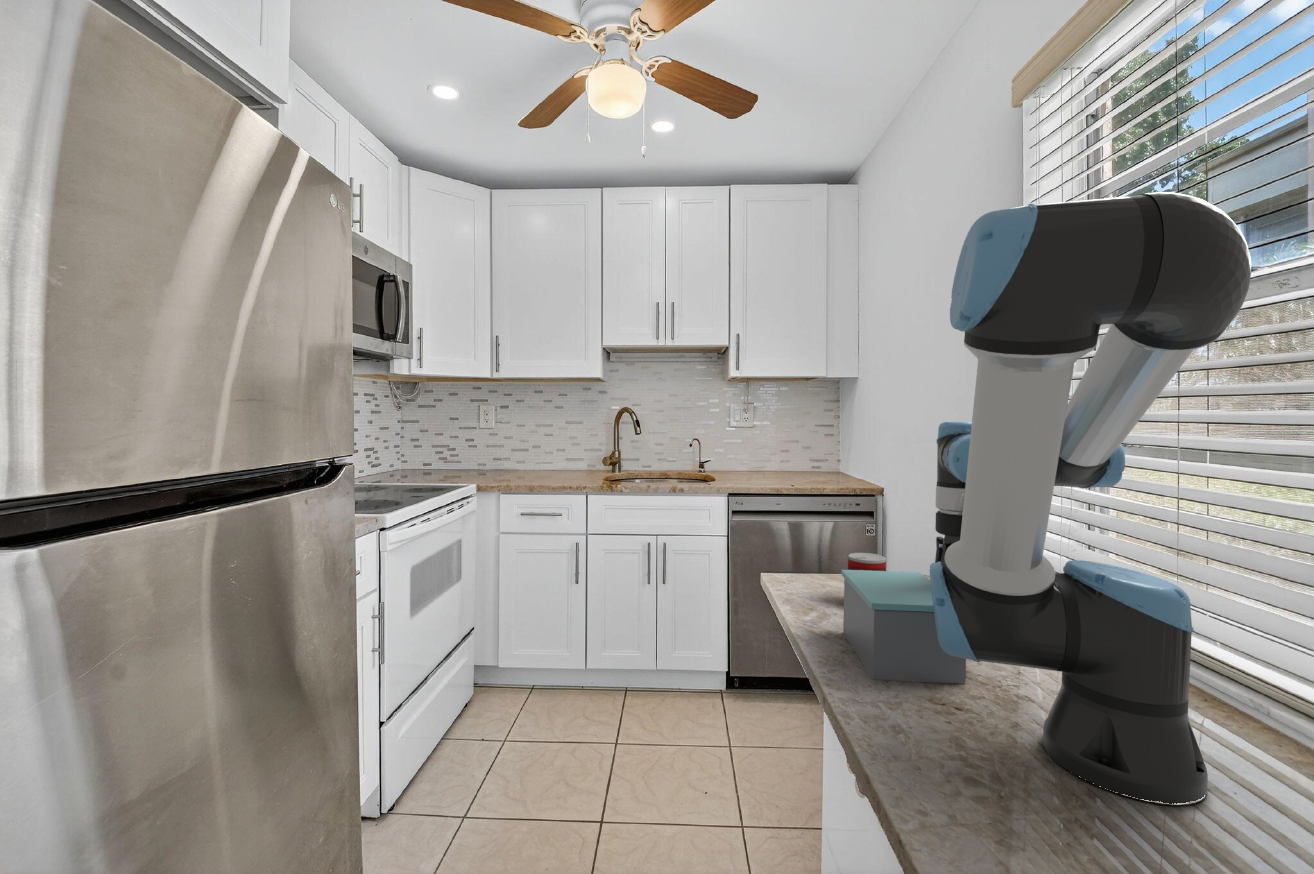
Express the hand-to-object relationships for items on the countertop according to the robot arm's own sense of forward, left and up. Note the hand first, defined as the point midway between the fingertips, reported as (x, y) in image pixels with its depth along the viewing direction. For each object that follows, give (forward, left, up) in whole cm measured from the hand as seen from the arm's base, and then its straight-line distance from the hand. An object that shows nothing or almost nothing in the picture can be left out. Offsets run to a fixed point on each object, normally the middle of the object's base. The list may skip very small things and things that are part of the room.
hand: (956, 641), depth 98 cm
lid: (0, +7, +2) cm, 8 cm away
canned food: (+28, +8, -3) cm, 29 cm away
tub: (0, +10, -3) cm, 10 cm away
